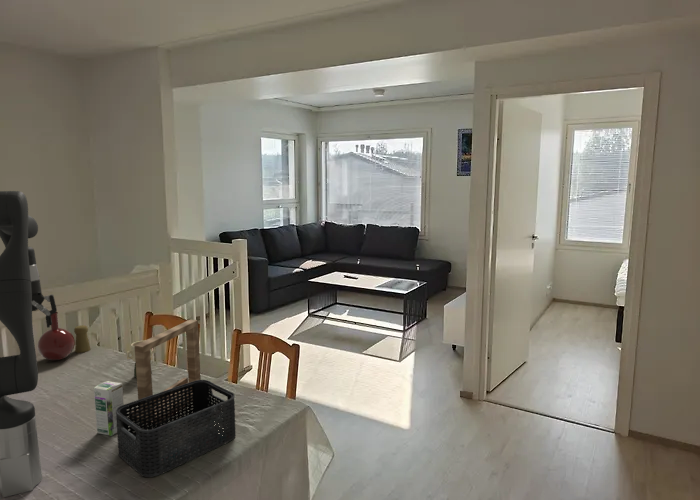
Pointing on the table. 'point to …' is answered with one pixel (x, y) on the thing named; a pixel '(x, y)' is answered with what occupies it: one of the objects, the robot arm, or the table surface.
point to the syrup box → (107, 406)
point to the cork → (81, 339)
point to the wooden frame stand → (145, 363)
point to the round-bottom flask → (56, 341)
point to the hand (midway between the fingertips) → (33, 329)
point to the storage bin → (174, 427)
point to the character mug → (134, 354)
